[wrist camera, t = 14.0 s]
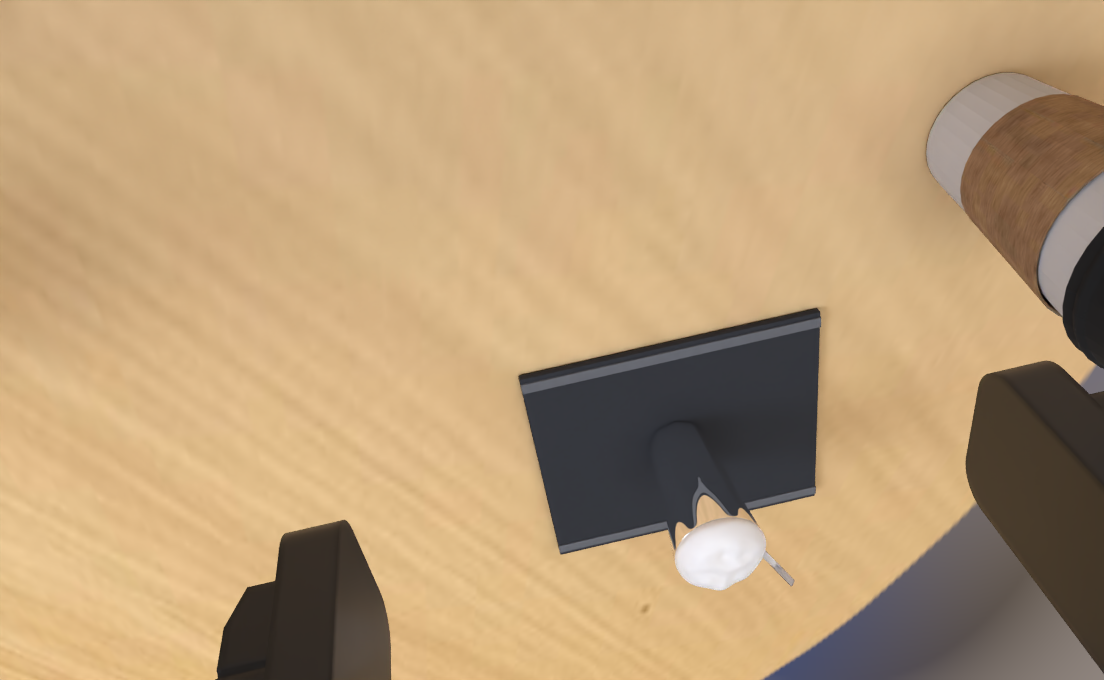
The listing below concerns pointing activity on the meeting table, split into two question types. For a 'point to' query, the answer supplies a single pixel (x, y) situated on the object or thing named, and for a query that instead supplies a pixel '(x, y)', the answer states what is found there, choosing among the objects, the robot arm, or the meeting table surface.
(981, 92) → the coffee cup
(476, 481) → the meeting table surface
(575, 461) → the desk pad
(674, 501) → the milkshake
